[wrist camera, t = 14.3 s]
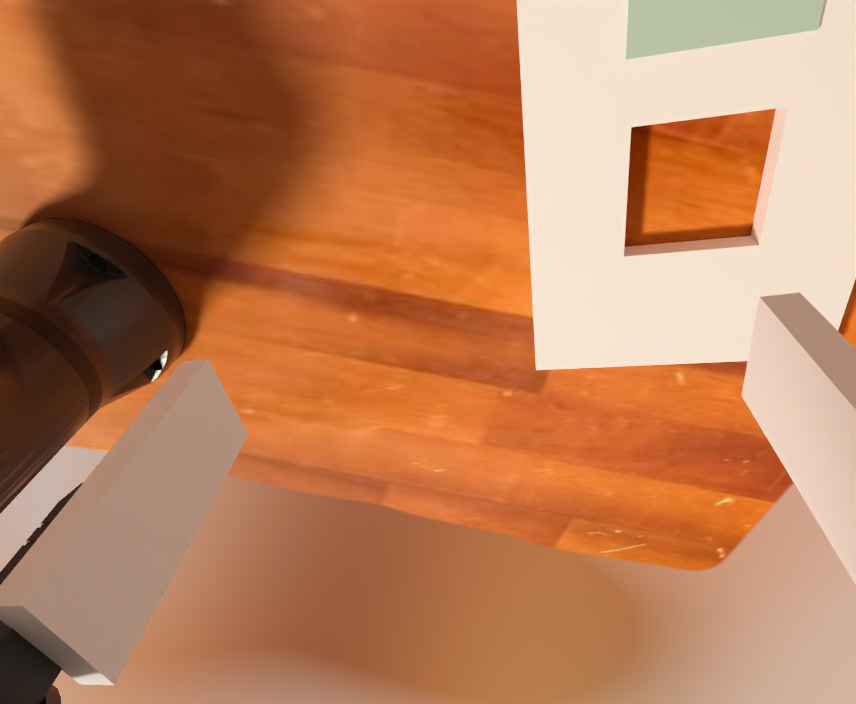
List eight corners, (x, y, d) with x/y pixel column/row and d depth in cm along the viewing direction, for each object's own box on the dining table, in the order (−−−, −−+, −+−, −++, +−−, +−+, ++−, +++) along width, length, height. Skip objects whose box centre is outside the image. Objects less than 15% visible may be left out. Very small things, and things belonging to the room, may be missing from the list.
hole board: (535, 358, 41) (536, 371, 40) (505, -212, 24) (505, -223, 22) (818, 345, 37) (830, 359, 36) (1041, -355, 20) (1081, -380, 18)
